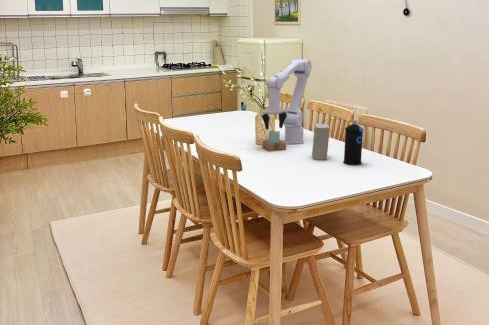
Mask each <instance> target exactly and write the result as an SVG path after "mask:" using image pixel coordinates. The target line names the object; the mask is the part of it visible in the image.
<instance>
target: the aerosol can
mask: <svg viewBox="0 0 489 325" xmlns="http://www.w3.org/2000/svg"><path fill="white" fill-rule="evenodd" d="M344 130H345V133H344V134H345V135H344V136H345V137H344V150H343V151H344V154H343V161H342V163H343V164H345V165H347V166H359V164H360V165H361V164H362V155H363V154H362V152H363V136H364V130H365V129H364V128H363V127H362V126H361V125H359V124H358V119H352V123H351V124H349V125H348V126H346V127H345V129H344Z"/></svg>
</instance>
